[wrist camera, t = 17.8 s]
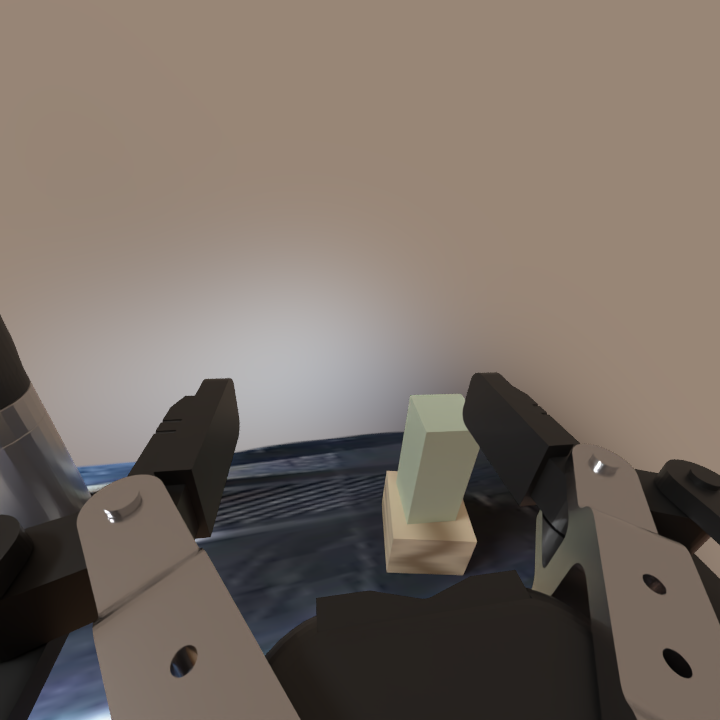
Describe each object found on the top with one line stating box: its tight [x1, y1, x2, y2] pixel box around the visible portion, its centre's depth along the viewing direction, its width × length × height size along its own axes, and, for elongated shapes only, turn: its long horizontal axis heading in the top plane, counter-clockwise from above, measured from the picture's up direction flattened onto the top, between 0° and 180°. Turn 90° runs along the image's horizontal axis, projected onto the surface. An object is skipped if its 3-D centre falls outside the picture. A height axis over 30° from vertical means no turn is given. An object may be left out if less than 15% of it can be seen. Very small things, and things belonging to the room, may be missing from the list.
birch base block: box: [382, 471, 477, 575], centre depth 34 cm, size 8×8×6 cm
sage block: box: [396, 394, 480, 524], centre depth 30 cm, size 5×5×12 cm
